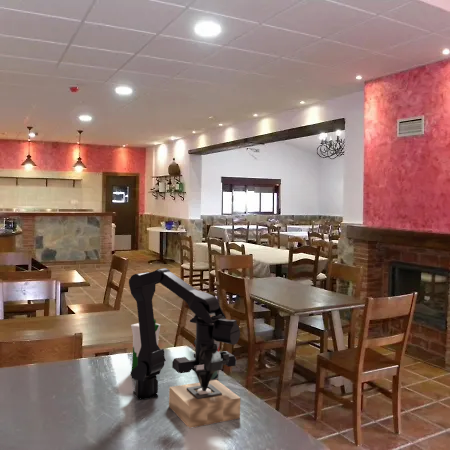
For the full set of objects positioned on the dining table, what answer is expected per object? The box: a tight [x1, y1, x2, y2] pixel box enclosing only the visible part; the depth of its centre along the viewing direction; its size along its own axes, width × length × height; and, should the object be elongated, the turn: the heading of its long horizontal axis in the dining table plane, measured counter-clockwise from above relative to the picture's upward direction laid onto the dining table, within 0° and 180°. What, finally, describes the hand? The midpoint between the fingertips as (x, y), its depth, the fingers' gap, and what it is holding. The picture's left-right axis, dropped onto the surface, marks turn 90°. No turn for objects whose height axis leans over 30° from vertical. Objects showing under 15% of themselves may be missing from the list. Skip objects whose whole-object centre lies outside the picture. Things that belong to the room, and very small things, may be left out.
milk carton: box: [130, 318, 161, 372], centre depth 177 cm, size 9×9×20 cm
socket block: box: [168, 379, 241, 429], centre depth 145 cm, size 16×16×7 cm
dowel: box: [197, 388, 211, 395], centre depth 145 cm, size 4×4×6 cm
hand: (204, 390), depth 145 cm, fingers closed, pressing on dowel
